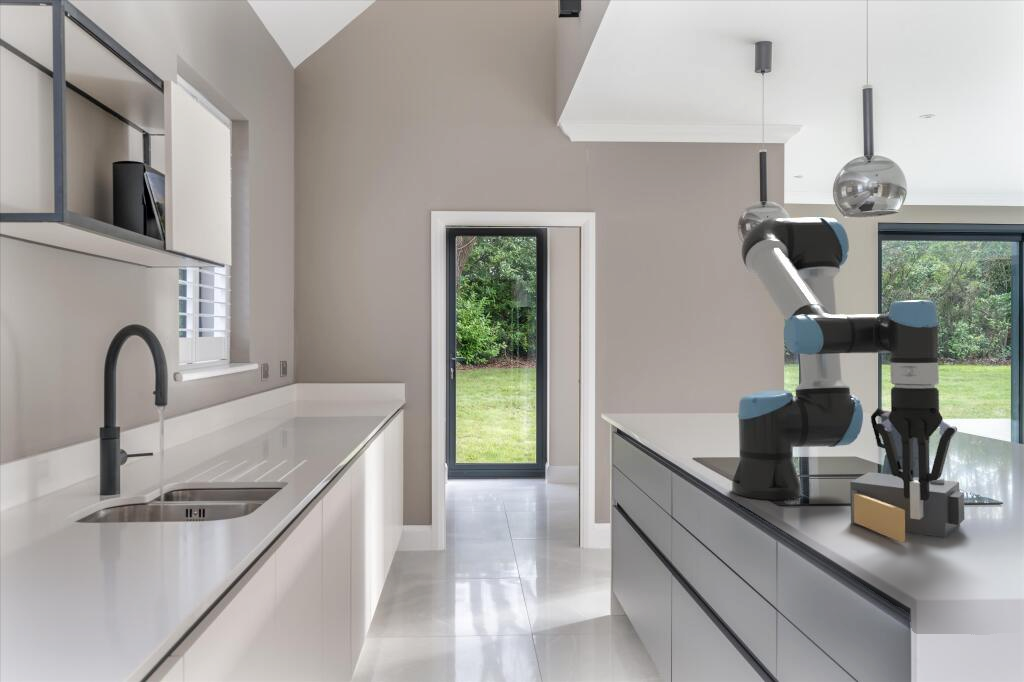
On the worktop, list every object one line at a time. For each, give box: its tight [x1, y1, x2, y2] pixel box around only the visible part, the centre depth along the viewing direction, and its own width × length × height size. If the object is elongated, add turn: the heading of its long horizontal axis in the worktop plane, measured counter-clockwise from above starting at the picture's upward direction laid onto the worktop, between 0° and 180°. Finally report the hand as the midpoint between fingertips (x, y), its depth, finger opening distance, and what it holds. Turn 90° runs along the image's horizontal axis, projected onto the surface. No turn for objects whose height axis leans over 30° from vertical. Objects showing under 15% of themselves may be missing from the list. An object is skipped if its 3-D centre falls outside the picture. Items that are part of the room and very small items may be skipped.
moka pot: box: [870, 408, 919, 478], centre depth 168 cm, size 10×15×20 cm, turn 28°
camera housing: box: [849, 471, 965, 539], centre depth 137 cm, size 18×12×9 cm
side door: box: [851, 490, 906, 543], centre depth 131 cm, size 14×1×6 cm, turn 8°
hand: (916, 517), depth 128 cm, fingers closed
